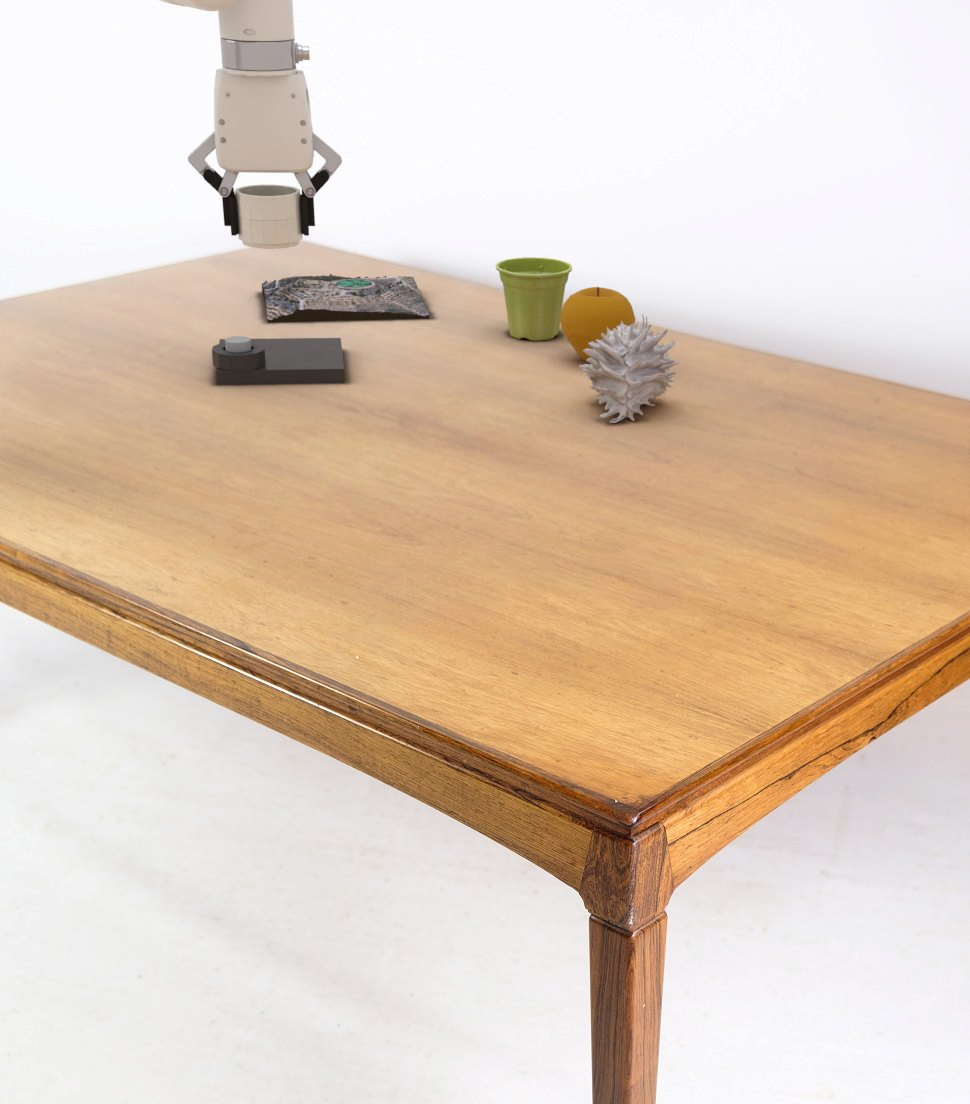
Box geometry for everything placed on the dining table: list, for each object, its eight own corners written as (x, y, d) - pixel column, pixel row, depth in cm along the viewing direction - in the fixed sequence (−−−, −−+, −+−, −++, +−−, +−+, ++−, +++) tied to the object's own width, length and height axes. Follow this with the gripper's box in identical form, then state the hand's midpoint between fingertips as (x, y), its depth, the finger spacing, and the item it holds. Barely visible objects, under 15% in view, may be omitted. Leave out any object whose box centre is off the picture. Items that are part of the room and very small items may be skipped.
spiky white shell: (659, 415, 185) (565, 432, 180) (642, 317, 183) (547, 331, 178) (709, 407, 175) (611, 425, 170) (693, 303, 173) (593, 319, 168)
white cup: (238, 249, 174) (234, 196, 171) (240, 235, 180) (236, 184, 177) (302, 249, 175) (299, 196, 172) (302, 235, 181) (300, 184, 178)
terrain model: (268, 323, 204) (266, 297, 203) (262, 295, 217) (260, 270, 216) (429, 319, 209) (428, 294, 207) (414, 291, 222) (413, 267, 220)
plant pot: (514, 348, 199) (514, 276, 195) (484, 329, 206) (484, 259, 202) (583, 341, 203) (585, 271, 199) (551, 323, 210) (552, 254, 206)
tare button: (225, 354, 180) (224, 342, 180) (226, 348, 183) (225, 336, 182) (251, 354, 181) (250, 342, 180) (251, 347, 183) (250, 335, 182)
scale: (213, 386, 180) (211, 355, 179) (217, 353, 192) (215, 323, 190) (345, 384, 183) (343, 353, 181) (341, 351, 194) (339, 322, 193)
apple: (556, 350, 199) (558, 276, 194) (629, 351, 199) (632, 277, 195) (561, 371, 191) (562, 295, 186) (637, 372, 192) (640, 296, 187)
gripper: (343, 54, 173) (350, 226, 182) (174, 51, 170) (190, 225, 179) (344, 63, 167) (352, 240, 175) (169, 60, 164) (186, 240, 172)
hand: (270, 231), depth 177 cm, fingers closed on white cup, 6 cm apart
